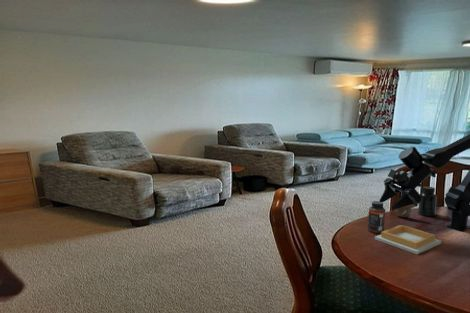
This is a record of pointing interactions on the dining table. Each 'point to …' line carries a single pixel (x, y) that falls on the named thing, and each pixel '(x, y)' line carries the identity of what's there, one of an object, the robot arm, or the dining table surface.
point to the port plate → (408, 239)
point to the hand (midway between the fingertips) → (385, 205)
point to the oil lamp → (405, 210)
